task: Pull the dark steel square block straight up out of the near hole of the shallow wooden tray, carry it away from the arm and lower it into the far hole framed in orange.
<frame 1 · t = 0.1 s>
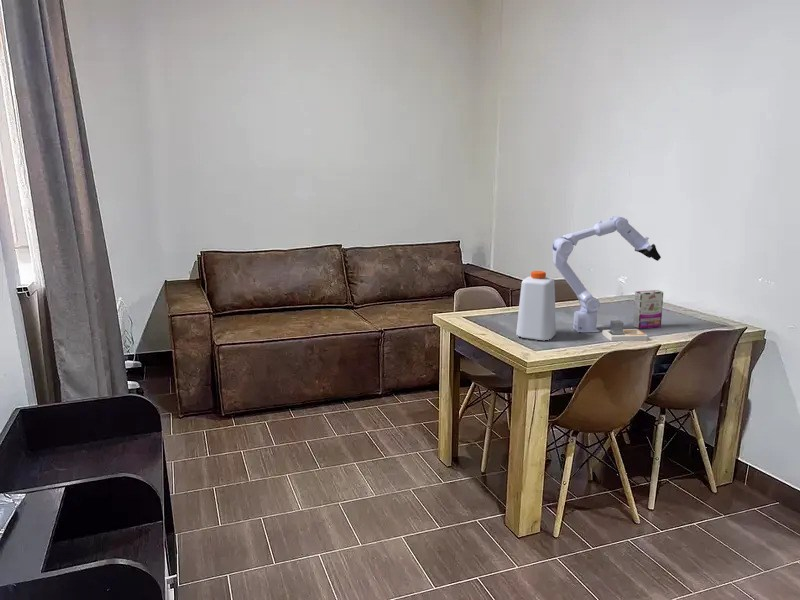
hand: (655, 257, 259), 32 cm above the table, tool tilted 50°, fingers open, 7 cm apart
candy bar box: (646, 327, 270), on the table
steel block: (615, 337, 254), resting in shallow wooden tray
plastic bottle: (535, 336, 258), on the table
shallow wooden tray: (625, 337, 254), on the table
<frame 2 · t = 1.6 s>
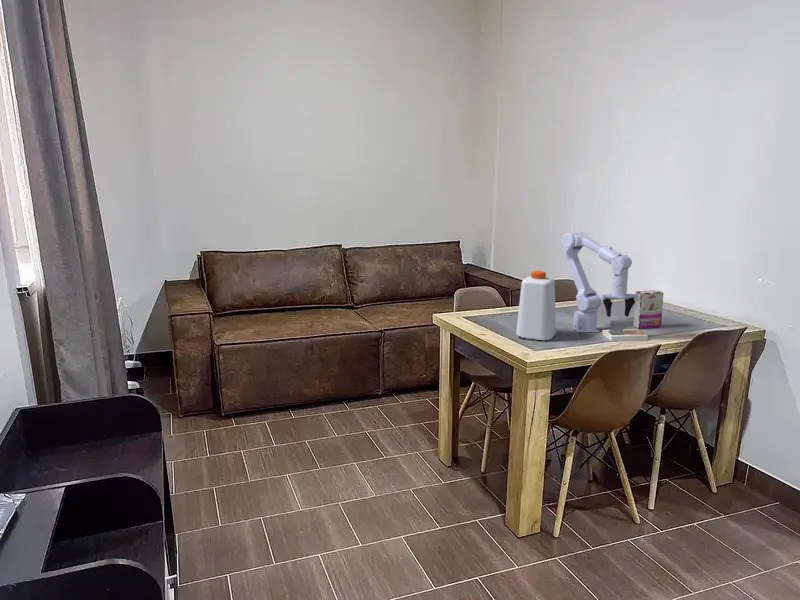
hand: (617, 316, 252), 9 cm above the table, tool pointing down, fingers open, 7 cm apart
nothing on the table moved.
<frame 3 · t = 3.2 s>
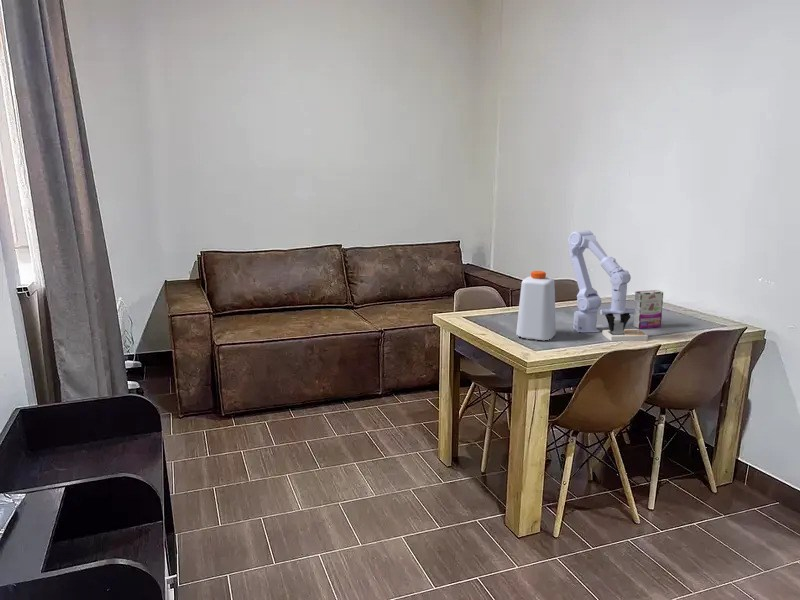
hand: (616, 330, 254), 3 cm above the table, tool pointing down, fingers closed on steel block, 4 cm apart
steel block: (615, 337, 254), resting in shallow wooden tray, touching gripper
everything else where it was.
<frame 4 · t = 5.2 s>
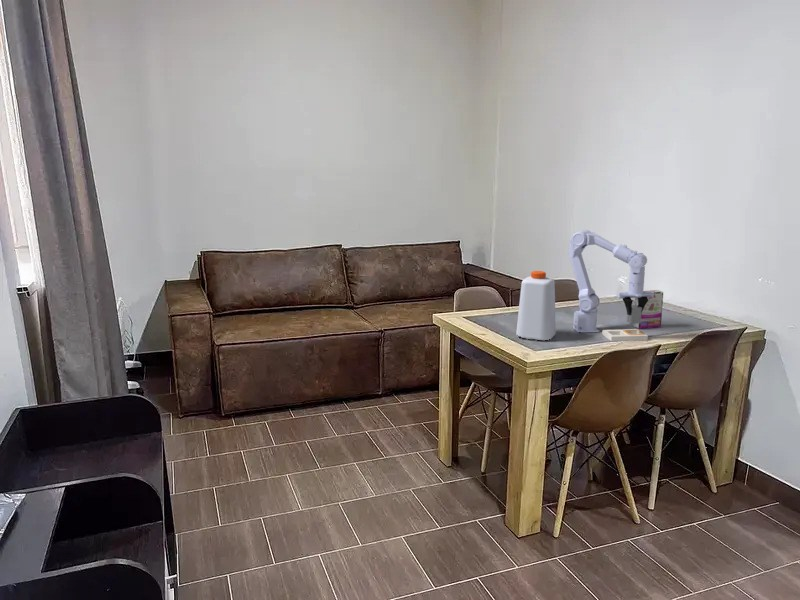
hand: (634, 314, 252), 10 cm above the table, tool pointing down, fingers closed on steel block, 4 cm apart
steel block: (633, 322, 253), point 7 cm above the table, touching gripper
everything else where it was.
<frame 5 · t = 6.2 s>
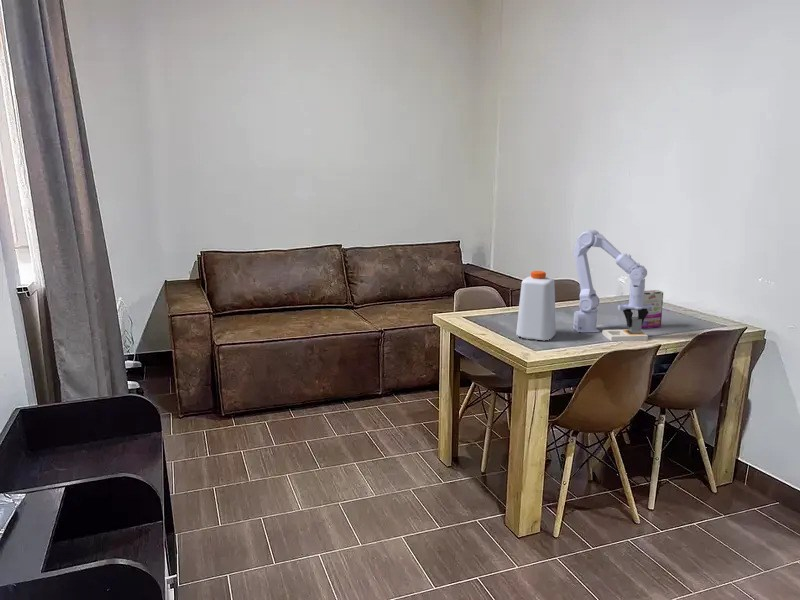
hand: (634, 326, 253), 5 cm above the table, tool pointing down, fingers closed on steel block, 4 cm apart
steel block: (633, 334, 254), point 1 cm above the table, touching gripper
everything else where it was.
when the fingers open (4 cm above the table, at t = 7.2 s): steel block stays where it is, resting in shallow wooden tray.
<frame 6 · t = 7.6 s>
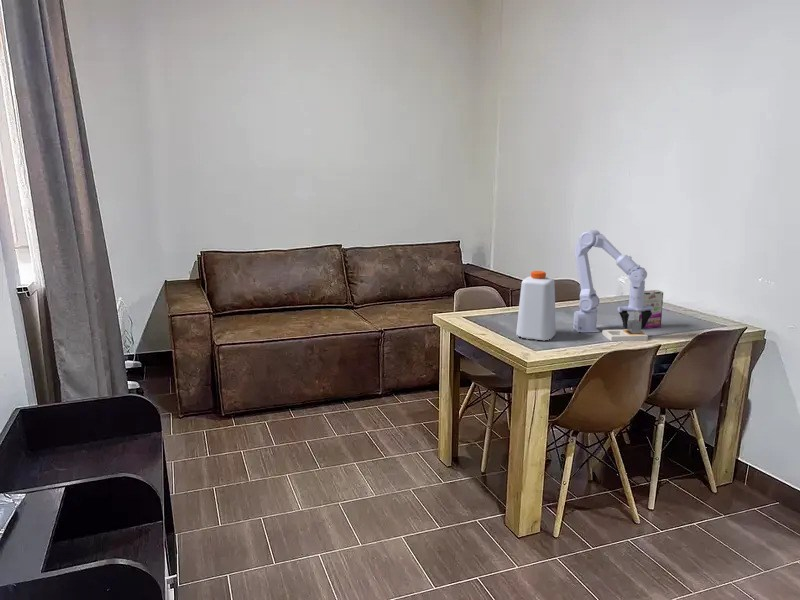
hand: (634, 328, 254), 4 cm above the table, tool pointing down, fingers open, 7 cm apart
steel block: (633, 337, 254), resting in shallow wooden tray
everything else where it was.
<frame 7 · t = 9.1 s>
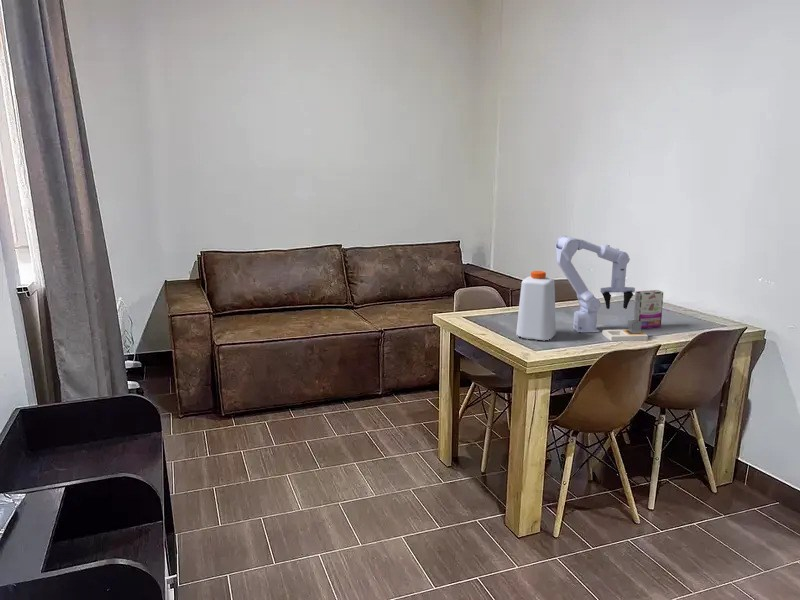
hand: (616, 308, 265), 9 cm above the table, tool pointing down, fingers open, 7 cm apart
nothing on the table moved.
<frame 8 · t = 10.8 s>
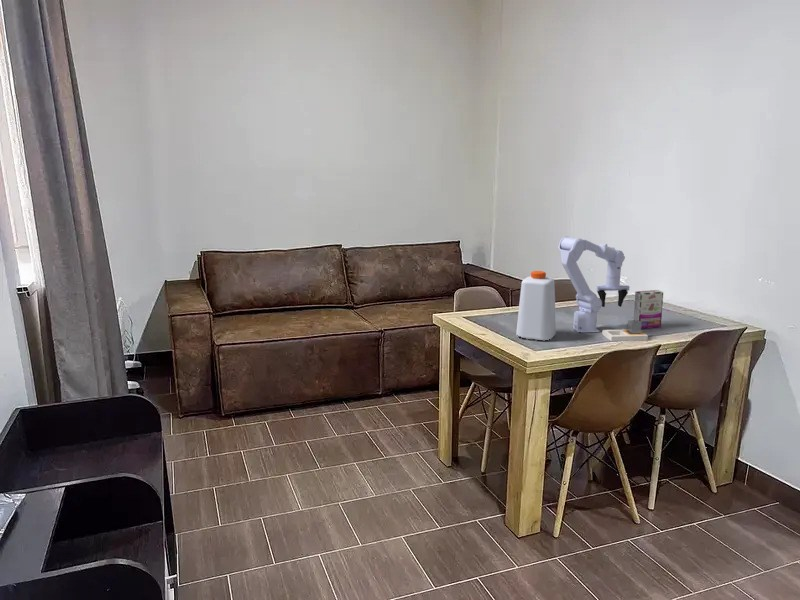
hand: (611, 306, 269), 9 cm above the table, tool pointing down, fingers open, 7 cm apart
nothing on the table moved.
at the end: steel block 0.3 cm from the target spot on the shallow wooden tray, point 0.0 cm above the shallow wooden tray's base; steel block tilted 0°; the gripper is holding nothing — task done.
